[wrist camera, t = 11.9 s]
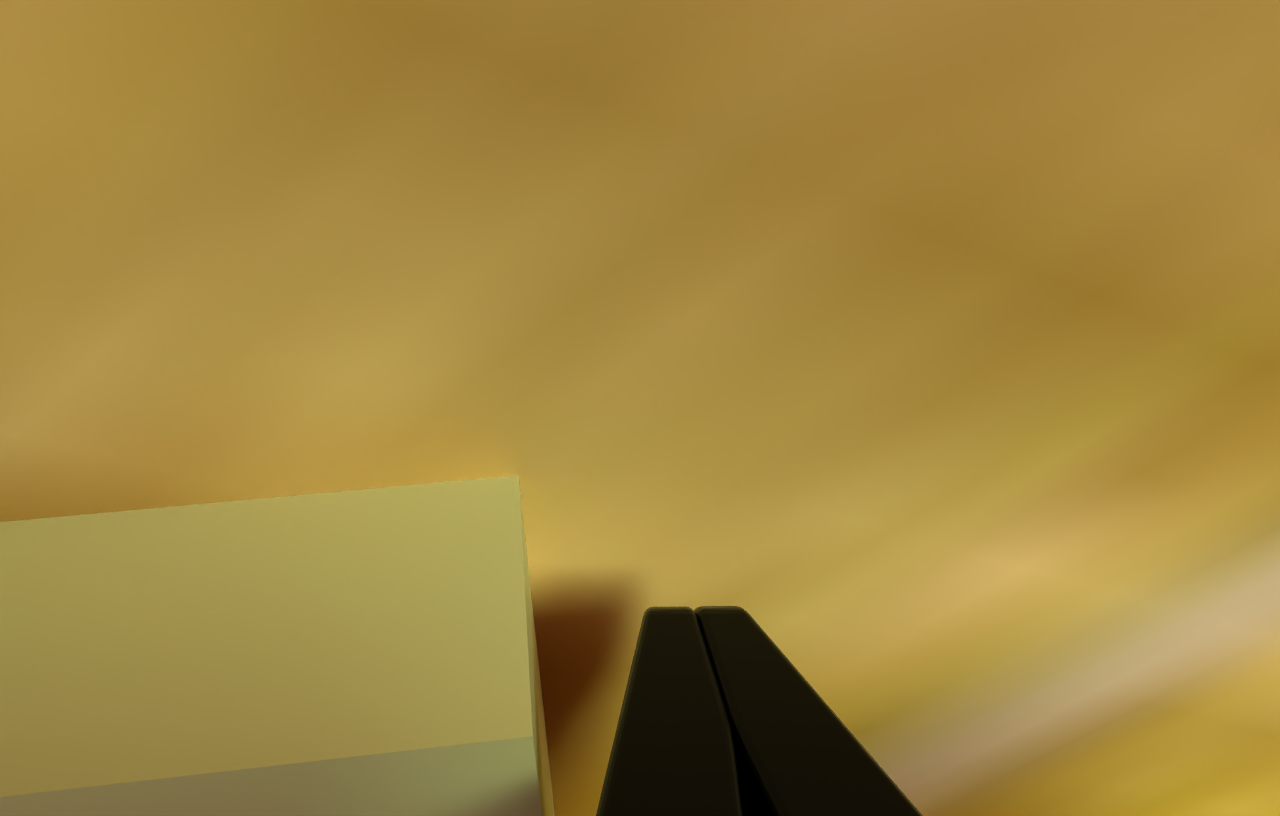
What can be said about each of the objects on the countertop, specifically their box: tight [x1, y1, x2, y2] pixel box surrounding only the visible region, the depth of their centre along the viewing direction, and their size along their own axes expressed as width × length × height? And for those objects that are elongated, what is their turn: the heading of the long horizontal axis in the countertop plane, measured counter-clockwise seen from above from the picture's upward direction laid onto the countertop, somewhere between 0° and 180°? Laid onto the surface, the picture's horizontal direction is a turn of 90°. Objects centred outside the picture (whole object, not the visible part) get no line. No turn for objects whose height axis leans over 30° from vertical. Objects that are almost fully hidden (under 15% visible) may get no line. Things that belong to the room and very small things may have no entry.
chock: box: [0, 475, 555, 816], centre depth 9 cm, size 5×6×3 cm
